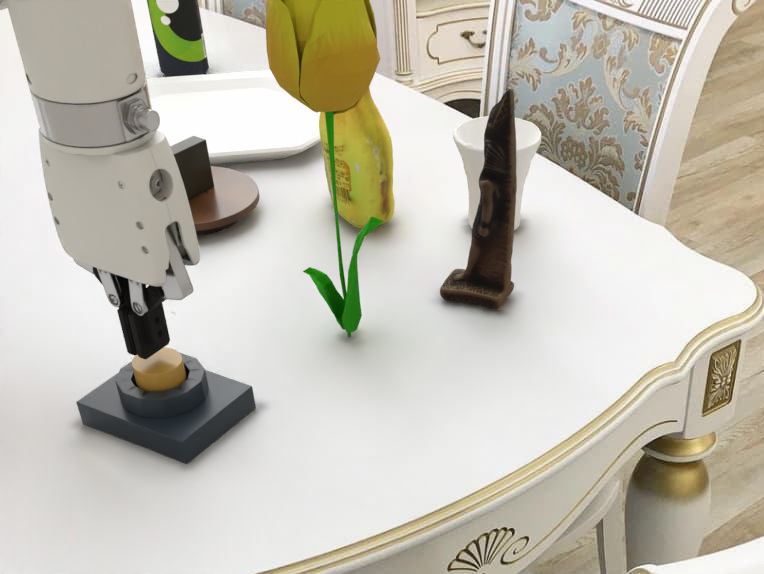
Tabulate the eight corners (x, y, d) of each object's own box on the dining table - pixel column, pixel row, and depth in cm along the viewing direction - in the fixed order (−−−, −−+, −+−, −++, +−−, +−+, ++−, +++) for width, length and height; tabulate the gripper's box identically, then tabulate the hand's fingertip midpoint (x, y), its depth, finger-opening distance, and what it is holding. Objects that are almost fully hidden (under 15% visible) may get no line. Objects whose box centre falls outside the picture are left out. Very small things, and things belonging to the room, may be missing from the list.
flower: (298, 360, 99) (247, -14, 77) (308, 313, 105) (263, -48, 83) (395, 360, 99) (371, -12, 78) (399, 314, 105) (378, -46, 83)
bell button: (125, 384, 90) (120, 365, 88) (158, 360, 92) (154, 342, 91) (164, 398, 88) (159, 379, 87) (196, 374, 91) (192, 355, 90)
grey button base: (82, 424, 92) (69, 383, 89) (155, 372, 97) (145, 331, 94) (187, 464, 88) (177, 422, 85) (256, 408, 94) (249, 367, 91)
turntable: (191, 162, 124) (181, 108, 120) (286, 194, 119) (279, 139, 115) (95, 208, 116) (81, 152, 111) (193, 244, 110) (182, 187, 106)
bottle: (313, 196, 122) (290, -6, 107) (368, 186, 124) (353, -13, 109) (349, 244, 114) (330, 34, 100) (407, 232, 116) (396, 25, 102)
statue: (454, 282, 109) (449, 66, 95) (521, 295, 108) (527, 78, 93) (438, 302, 107) (431, 83, 92) (507, 316, 105) (511, 96, 91)
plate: (309, 84, 144) (307, 66, 143) (334, 164, 128) (332, 144, 126) (112, 98, 140) (108, 79, 138) (112, 182, 123) (107, 162, 122)
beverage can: (182, 63, 149) (158, -66, 138) (219, 71, 147) (198, -58, 136) (151, 77, 145) (125, -54, 134) (190, 86, 143) (166, -46, 132)
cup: (435, 227, 117) (432, 131, 110) (494, 199, 122) (494, 105, 115) (497, 255, 113) (498, 157, 106) (555, 225, 118) (560, 129, 111)
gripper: (218, 117, 75) (254, 353, 88) (52, 71, 80) (110, 302, 93) (143, 157, 70) (193, 400, 84) (-29, 105, 75) (44, 344, 88)
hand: (149, 348), depth 88 cm, fingers closed
